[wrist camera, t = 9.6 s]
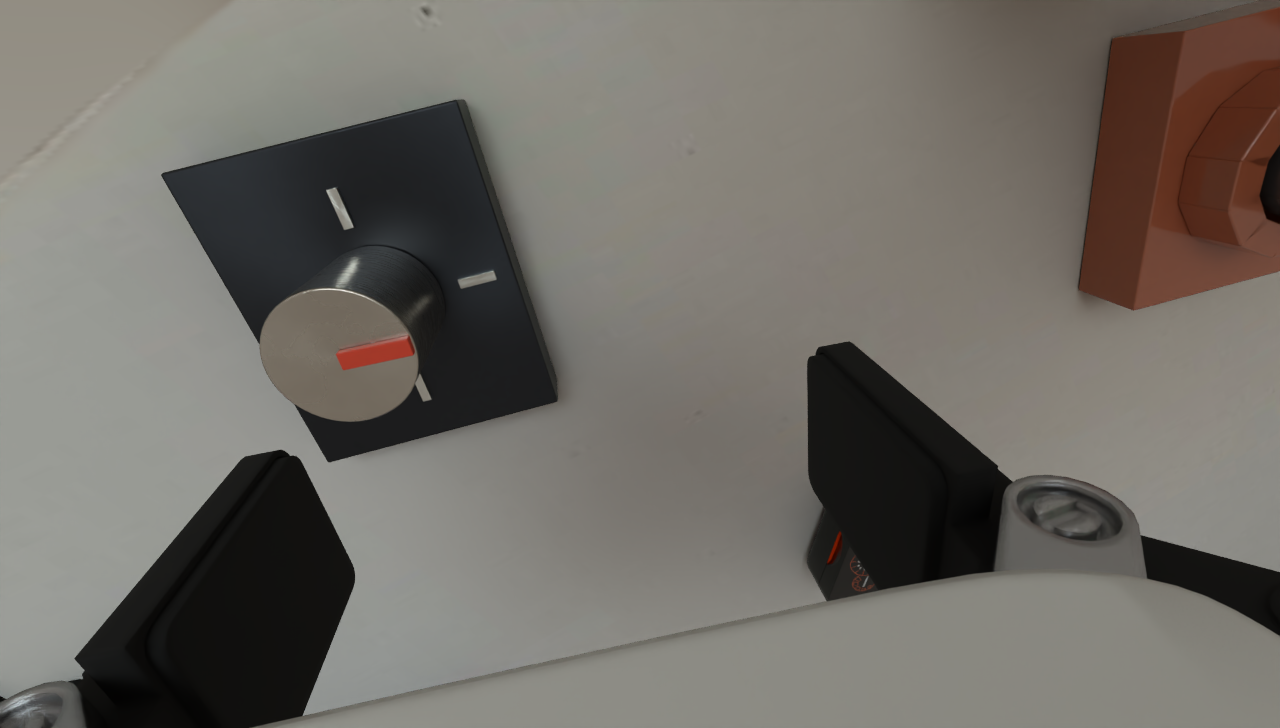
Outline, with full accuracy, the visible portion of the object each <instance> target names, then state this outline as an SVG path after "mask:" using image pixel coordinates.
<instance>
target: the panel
mask: <svg viewBox="0 0 1280 728" xmlns="http://www.w3.org/2000/svg"><path fill="white" fill-rule="evenodd" d="M161 176H162V178H163V179H164V181H165V183H166V185H167V186H168V188H169V190H170V191H171V193H172V195H173V197H174V198H175V200H176V202H177V204H178V205H179V207H180V209H181V210H182V212H183V214H184V216H185V217H186V219H187V221H188V222H189V224H190V226H191V228H192V229H193V231H194V233H195V234H196V236H197V238H198V240H199V241H200V243H201V245H202V246H203V248H204V250H205V252H206V253H207V255H208V257H209V259H210V260H211V262H212V264H213V265H214V267H215V269H216V271H217V272H218V274H219V276H220V277H221V279H222V281H223V283H224V284H225V286H226V288H227V289H228V291H229V293H230V295H231V296H232V298H233V300H234V301H235V303H236V305H237V307H238V308H239V310H240V312H241V313H242V315H243V317H244V319H245V320H246V322H247V324H248V326H249V327H250V329H251V331H252V332H253V334H254V336H255V338H256V339H257V341H258V343H259V344H260V336H261V331H262V328H263V325H264V322H265V320H266V319H267V317H268V315H269V314H270V313H271V311H272V310H273V309H274V308H275V307H276V306H277V305H278V304H279V303H280V302H282V301H283V300H284V299H285V298H287V297H288V296H289V295H291V294H292V293H293V292H294V291H296V290H297V289H298V288H300V287H301V286H302V285H303V284H305V283H306V282H307V281H309V280H310V279H311V278H312V277H314V276H315V275H316V274H317V273H319V272H320V271H321V270H323V269H324V268H325V267H326V266H328V265H329V264H330V263H332V262H333V261H334V260H335V259H337V258H338V257H339V256H341V255H343V254H344V253H346V252H348V251H350V250H353V249H356V248H359V247H365V246H384V247H390V248H394V249H397V250H400V251H403V252H405V253H407V254H409V255H411V256H412V257H414V258H415V259H417V260H418V261H420V262H421V263H422V264H423V265H425V266H426V267H427V269H428V270H429V271H430V272H431V273H432V274H433V276H434V277H435V278H436V280H437V282H438V284H439V285H440V288H441V290H442V293H443V297H444V302H445V316H444V321H443V324H442V327H441V329H440V331H439V333H438V336H437V338H436V340H435V342H434V344H433V346H432V349H431V351H430V353H429V355H428V357H427V359H426V361H425V364H424V366H423V368H422V370H421V372H420V374H419V377H418V379H417V381H416V383H415V385H414V387H413V389H412V391H411V393H410V394H409V395H408V397H407V398H406V399H405V400H404V401H403V402H402V403H401V404H400V405H399V406H398V407H396V408H395V409H394V410H392V411H390V412H388V413H387V414H384V415H382V416H380V417H377V418H373V419H370V420H364V421H355V422H346V421H336V420H330V419H326V418H322V417H319V416H317V415H314V414H311V413H309V412H307V411H305V410H303V409H301V408H300V407H298V406H297V405H295V404H294V405H295V406H296V408H297V410H298V411H299V413H300V415H301V417H302V418H303V420H304V422H305V423H306V425H307V427H308V429H309V430H310V432H311V434H312V435H313V437H314V439H315V441H316V442H317V444H318V446H319V448H320V449H321V451H322V453H323V454H324V456H325V458H326V460H327V461H328V462H333V461H336V460H340V459H344V458H348V457H351V456H355V455H359V454H363V453H366V452H370V451H374V450H378V449H381V448H385V447H389V446H393V445H396V444H400V443H404V442H408V441H411V440H415V439H419V438H423V437H426V436H430V435H434V434H438V433H441V432H445V431H449V430H453V429H456V428H460V427H464V426H468V425H471V424H475V423H479V422H483V421H486V420H490V419H494V418H498V417H501V416H505V415H509V414H513V413H516V412H520V411H524V410H528V409H531V408H535V407H539V406H543V405H546V404H550V403H554V402H557V401H558V391H557V378H556V375H555V372H554V369H553V366H552V363H551V360H550V357H549V354H548V351H547V348H546V345H545V342H544V338H543V335H542V332H541V329H540V326H539V323H538V320H537V317H536V314H535V311H534V308H533V305H532V302H531V299H530V296H529V293H528V290H527V287H526V284H525V281H524V278H523V275H522V272H521V269H520V266H519V263H518V260H517V257H516V254H515V251H514V248H513V245H512V241H511V238H510V235H509V232H508V229H507V226H506V223H505V220H504V217H503V214H502V211H501V208H500V205H499V202H498V199H497V196H496V193H495V190H494V187H493V184H492V181H491V178H490V175H489V172H488V169H487V166H486V163H485V160H484V157H483V154H482V151H481V147H480V144H479V141H478V138H477V135H476V132H475V129H474V126H473V123H472V120H471V117H470V114H469V111H468V108H467V105H466V102H465V100H453V101H449V102H445V103H441V104H437V105H433V106H429V107H425V108H421V109H417V110H413V111H409V112H405V113H401V114H397V115H393V116H389V117H385V118H381V119H377V120H373V121H369V122H365V123H361V124H357V125H353V126H349V127H345V128H341V129H337V130H333V131H329V132H325V133H321V134H317V135H313V136H309V137H305V138H301V139H297V140H293V141H289V142H285V143H281V144H277V145H273V146H269V147H265V148H261V149H257V150H253V151H249V152H245V153H241V154H237V155H233V156H229V157H225V158H221V159H217V160H213V161H209V162H205V163H201V164H197V165H193V166H189V167H185V168H181V169H177V170H173V171H169V172H165V173H162V174H161Z"/></svg>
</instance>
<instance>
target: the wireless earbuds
mask: <svg viewBox="0 0 1280 728" xmlns="http://www.w3.org/2000/svg"><path fill="white" fill-rule="evenodd" d="M807 564H808V568H809V569H810V571H811V573H812V575H813V577H814V579H815V581H816V582H817V584H818V586H819V588H820V590H821V592H822V593H823V595H824V597H825V599H826V601H831V600H836V599H841V598H846V597H851V596H856V595H861V594H865V593H870V592H875V591H879V590H878V589H877V587H876V586H875V584H874V583H873V581H872V580H871V578H870V577H869V575H868V573H867V572H866V570H865V569H864V567H863V566H862V564H861V563H860V561H859V560H858V558H857V557H856V555H855V554H854V552H853V550H852V549H851V547H850V546H849V544H848V543H847V541H846V540H845V538H844V537H843V535H842V534H841V532H840V531H839V529H838V527H837V526H836V524H835V523H834V521H833V520H832V518H831V517H830V515H829V514H828V512H827V511H826V509H825V512H824V515H823V518H822V520H821V523H820V526H819V529H818V531H817V534H816V537H815V540H814V542H813V545H812V548H811V551H810V553H809V556H808V560H807Z"/></svg>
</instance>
